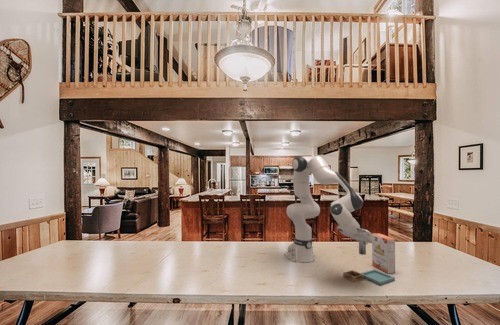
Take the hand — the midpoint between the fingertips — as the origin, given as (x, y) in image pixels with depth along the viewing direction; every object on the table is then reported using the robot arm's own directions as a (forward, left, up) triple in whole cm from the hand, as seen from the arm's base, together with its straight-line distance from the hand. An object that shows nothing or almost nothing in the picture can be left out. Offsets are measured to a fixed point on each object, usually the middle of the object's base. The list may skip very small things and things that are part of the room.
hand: (363, 242), depth 149 cm
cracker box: (-3, +23, -21) cm, 31 cm away
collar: (-3, -4, -21) cm, 21 cm away
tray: (+4, +7, -21) cm, 22 cm away
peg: (0, -1, -6) cm, 6 cm away
